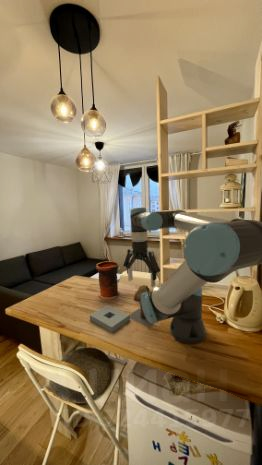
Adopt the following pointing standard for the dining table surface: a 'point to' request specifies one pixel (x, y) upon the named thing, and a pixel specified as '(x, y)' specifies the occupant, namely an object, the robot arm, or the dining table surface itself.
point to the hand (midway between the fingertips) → (141, 283)
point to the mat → (137, 317)
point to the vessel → (108, 279)
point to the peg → (141, 309)
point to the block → (111, 323)
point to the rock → (141, 290)
